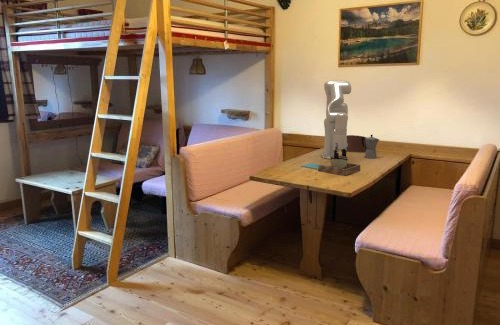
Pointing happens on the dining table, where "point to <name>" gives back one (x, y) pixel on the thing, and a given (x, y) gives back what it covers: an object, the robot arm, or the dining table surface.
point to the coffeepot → (370, 147)
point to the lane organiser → (349, 169)
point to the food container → (339, 162)
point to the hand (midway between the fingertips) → (340, 157)
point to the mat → (311, 165)
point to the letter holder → (355, 144)
